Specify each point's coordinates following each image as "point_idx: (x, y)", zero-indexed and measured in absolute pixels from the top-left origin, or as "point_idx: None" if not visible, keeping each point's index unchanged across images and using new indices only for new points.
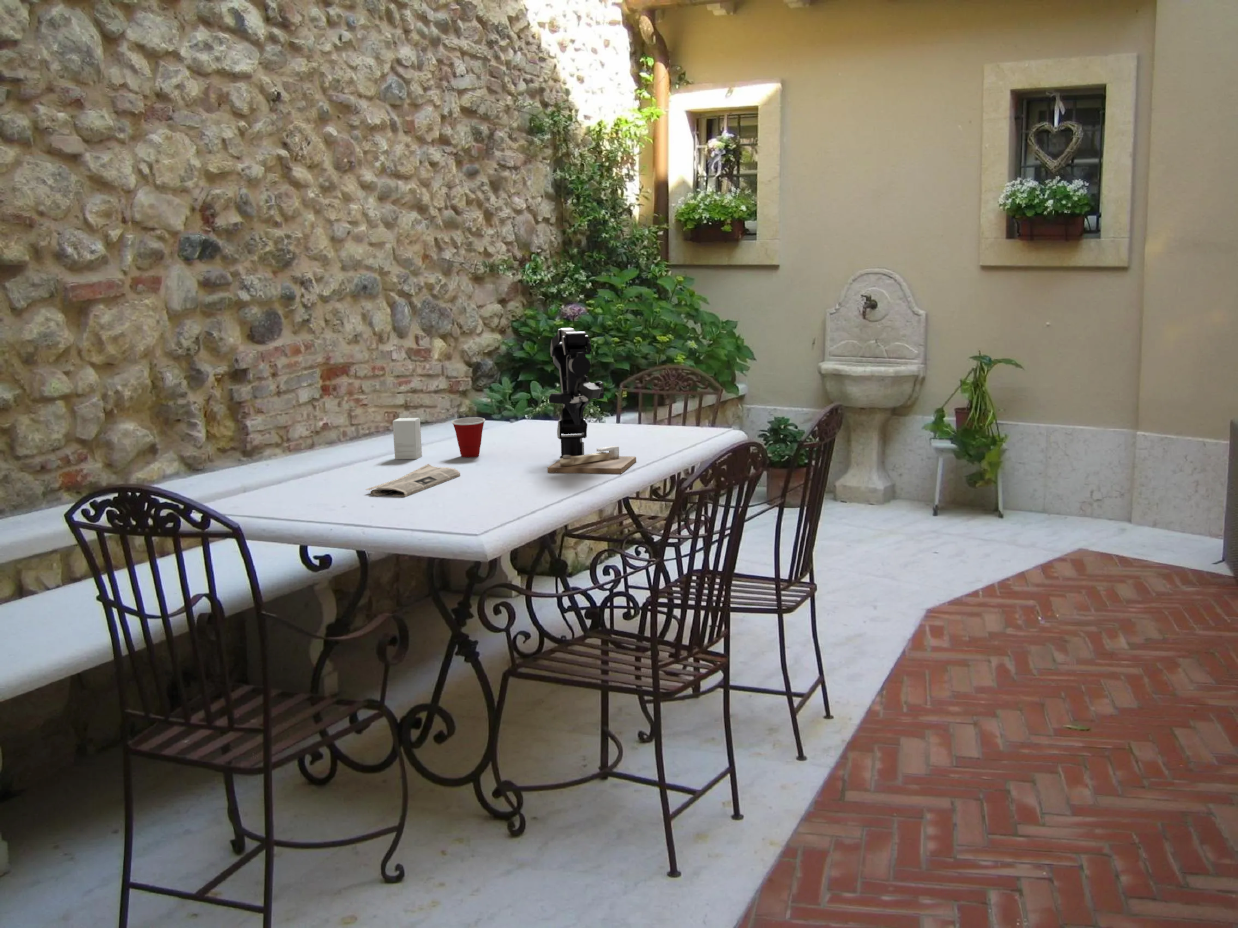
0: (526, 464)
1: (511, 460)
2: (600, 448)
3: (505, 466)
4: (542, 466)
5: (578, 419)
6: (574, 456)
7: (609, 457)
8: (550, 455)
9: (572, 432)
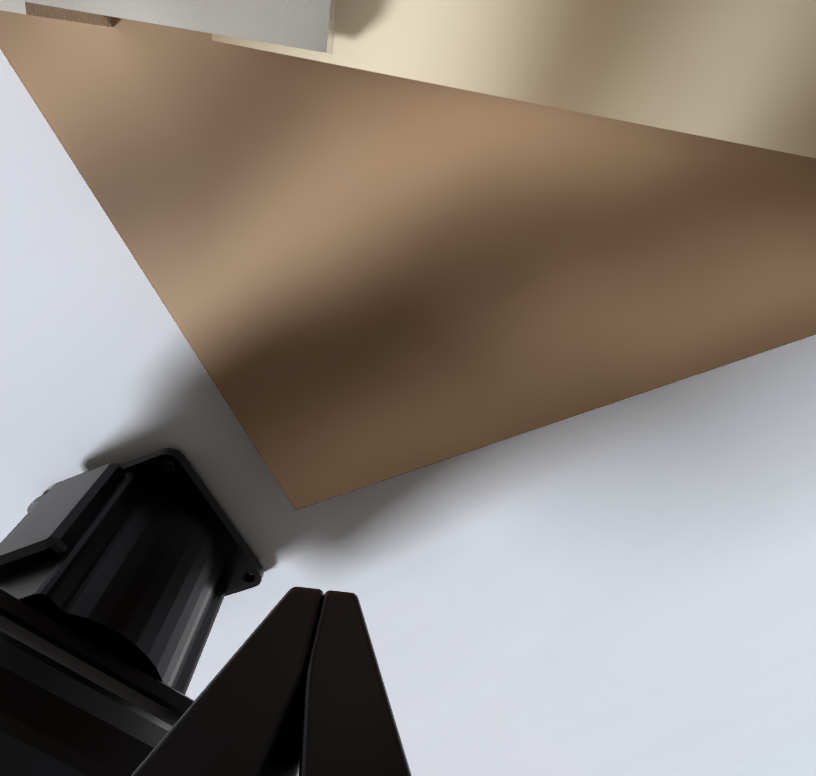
0: (616, 618)
1: (499, 758)
2: (270, 3)
3: (751, 676)
4: (668, 477)
5: (337, 685)
6: (757, 145)
7: (111, 17)
8: (188, 688)
9: (104, 692)
